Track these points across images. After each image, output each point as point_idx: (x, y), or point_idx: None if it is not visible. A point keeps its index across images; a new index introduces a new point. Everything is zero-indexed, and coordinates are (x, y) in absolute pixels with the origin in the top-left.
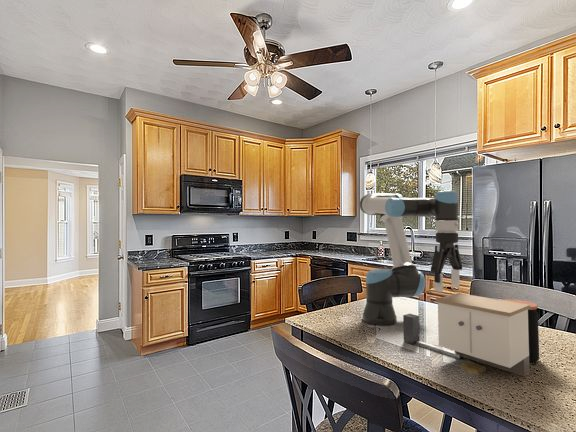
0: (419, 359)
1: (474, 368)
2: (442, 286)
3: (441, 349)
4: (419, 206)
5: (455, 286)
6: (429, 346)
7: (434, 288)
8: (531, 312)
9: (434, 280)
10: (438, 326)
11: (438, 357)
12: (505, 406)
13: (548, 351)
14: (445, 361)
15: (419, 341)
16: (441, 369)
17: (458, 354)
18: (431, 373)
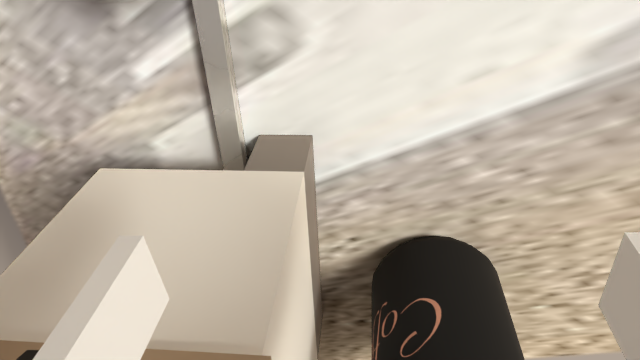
0: (68, 76)
1: None
2: (136, 352)
3: (214, 101)
4: None
5: (610, 278)
6: (200, 39)
7: (104, 259)
8: None
9: (40, 352)
10: (46, 226)
11: (164, 111)
12: None
13: (592, 313)
14: (158, 146)
15: None
16: (88, 170)
17: (231, 169)
18: (30, 165)
